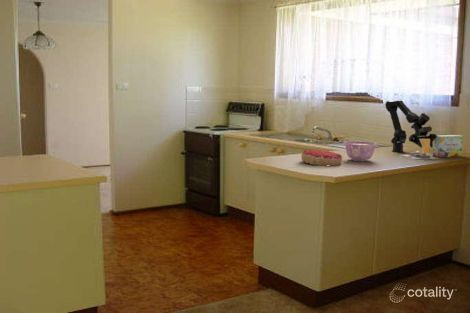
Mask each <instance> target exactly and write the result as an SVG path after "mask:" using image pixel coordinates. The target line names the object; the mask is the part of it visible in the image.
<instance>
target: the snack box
mask: <svg viewBox="0 0 470 313" xmlns="http://www.w3.org/2000/svg"><path fill="white" fill-rule="evenodd" d="M436 136H437V137H436V138H435V139H434V141H433V151H432V157H434V158H452V157H451V156H459V157H462V153H463V152H462V151H463V149H462V148H463V140H464V135H460V134H447V135H445V134H444V135H442V134H441V135H440V134H439V135H437V134H436Z"/></svg>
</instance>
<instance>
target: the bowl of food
mask: <svg viewBox="0 0 470 313" xmlns="http://www.w3.org/2000/svg"><path fill="white" fill-rule="evenodd" d="M344 146H345V151H346V155H347V157H348V158H349V159H351V160H352V161H353V162H366V161H368V160H369V159H371V158H372V157H373V155H374V153H375V148H376V146H377V143H376V142H371V141H365V140H364V141H363V140H362V141H361V140H349V141H345V142H344Z"/></svg>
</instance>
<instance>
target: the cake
mask: <svg viewBox="0 0 470 313" xmlns="http://www.w3.org/2000/svg"><path fill="white" fill-rule="evenodd" d="M301 161H302V162H304V163H305V164H308V163H309V164H310V165H311V164H312V165H311V166H315V165H316V166H321V165H322V166H325V165H330V166H333V165H334V166H340V165H339V164H341V165H342V161H343V156H342V155H341V154H340V153H336V152H334V151H329V150H323V149H317V148H315V149H314V148H311V149H305V150H303V151H302V154H301ZM309 164H308V165H309Z"/></svg>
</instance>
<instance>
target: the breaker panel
mask: <svg viewBox="0 0 470 313" xmlns="http://www.w3.org/2000/svg"><path fill="white" fill-rule="evenodd" d="M400 156H401V157H405V158H407V159H411V160H414V161H415V160H438V158H439V157H434V156H433V154H432V155H431V153H429V154H421V151H420V150H415V151H413V152H412V151H411V152H409V154H400Z"/></svg>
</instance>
